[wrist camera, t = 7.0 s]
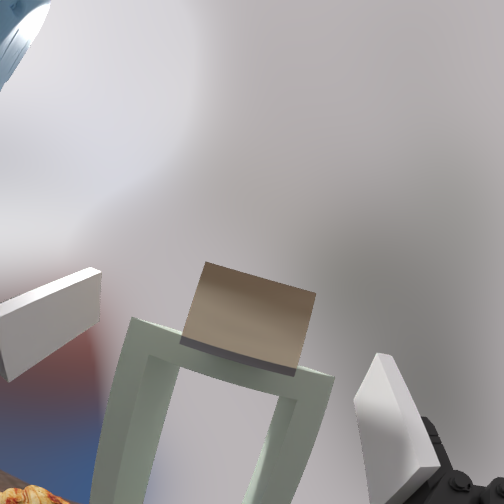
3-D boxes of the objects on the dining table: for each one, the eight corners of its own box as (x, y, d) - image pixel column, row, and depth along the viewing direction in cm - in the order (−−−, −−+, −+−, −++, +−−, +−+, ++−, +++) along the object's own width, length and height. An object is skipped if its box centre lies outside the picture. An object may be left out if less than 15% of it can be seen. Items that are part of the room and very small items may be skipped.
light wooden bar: (294, 377, 9) (316, 293, 10) (179, 343, 9) (205, 261, 10) (256, 353, 32) (263, 328, 33) (222, 343, 32) (229, 318, 33)
